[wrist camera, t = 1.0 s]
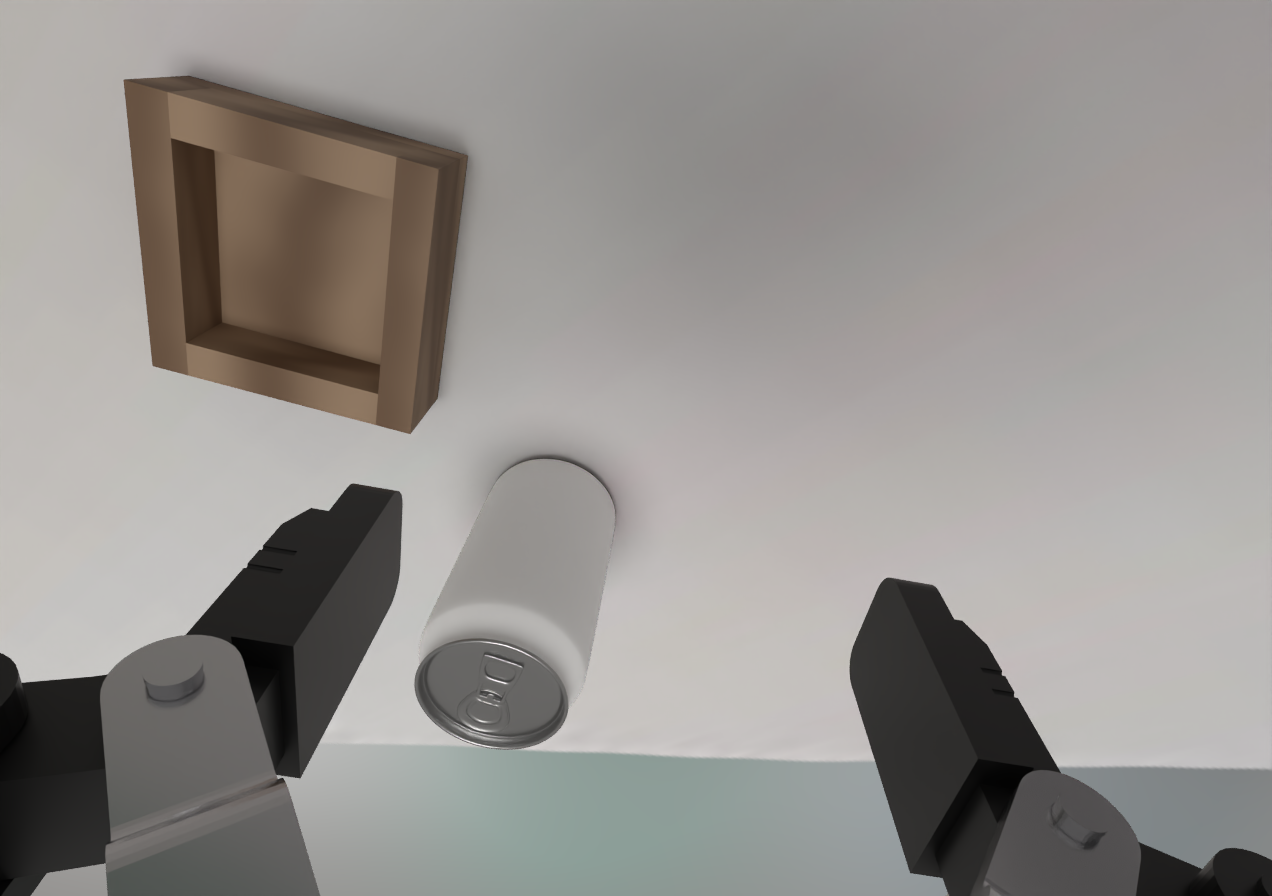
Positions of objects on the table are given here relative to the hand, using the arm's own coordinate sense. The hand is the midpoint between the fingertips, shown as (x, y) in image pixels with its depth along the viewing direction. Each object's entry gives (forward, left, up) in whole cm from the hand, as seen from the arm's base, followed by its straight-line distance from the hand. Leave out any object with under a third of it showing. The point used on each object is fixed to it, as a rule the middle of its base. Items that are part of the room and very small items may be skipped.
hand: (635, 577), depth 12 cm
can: (+3, +14, -20) cm, 25 cm away
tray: (+15, +4, -20) cm, 25 cm away
